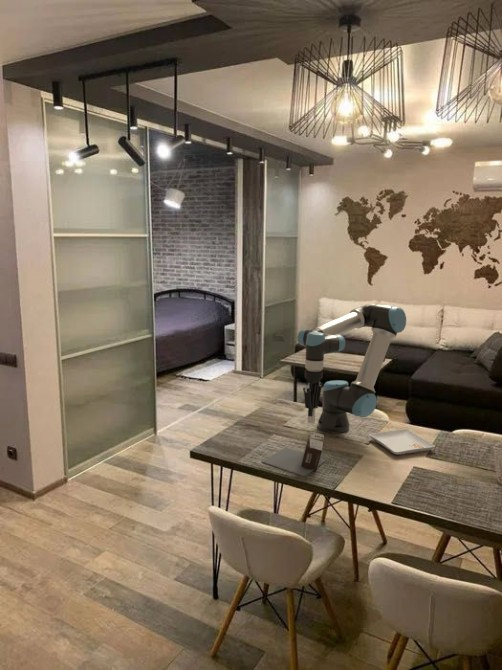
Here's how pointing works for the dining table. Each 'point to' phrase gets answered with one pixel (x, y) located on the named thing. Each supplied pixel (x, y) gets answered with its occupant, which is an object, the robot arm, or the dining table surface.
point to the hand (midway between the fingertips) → (311, 422)
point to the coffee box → (313, 450)
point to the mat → (290, 461)
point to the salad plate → (401, 441)
